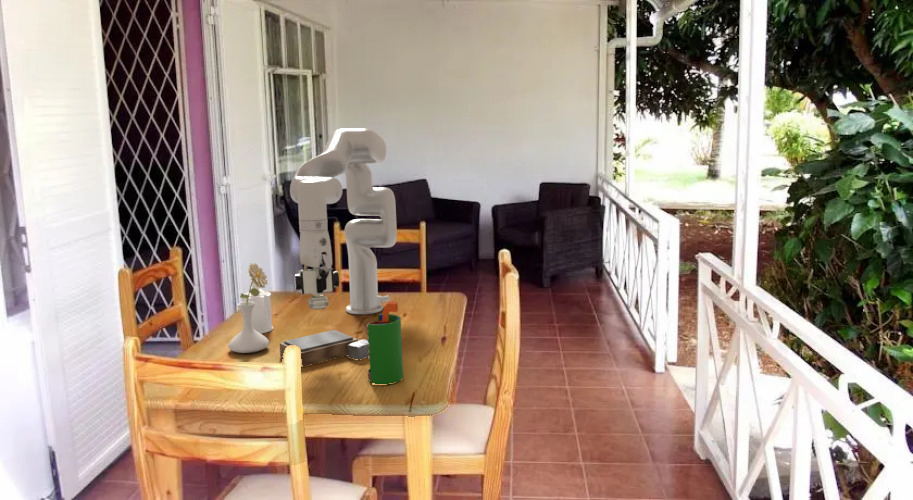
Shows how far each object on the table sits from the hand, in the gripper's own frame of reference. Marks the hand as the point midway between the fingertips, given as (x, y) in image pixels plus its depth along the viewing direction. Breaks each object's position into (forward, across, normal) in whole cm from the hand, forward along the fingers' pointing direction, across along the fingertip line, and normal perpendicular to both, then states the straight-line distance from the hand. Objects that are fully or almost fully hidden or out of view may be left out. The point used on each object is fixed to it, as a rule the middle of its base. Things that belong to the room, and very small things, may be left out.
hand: (316, 289), depth 202 cm
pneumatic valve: (+5, -1, 0) cm, 5 cm away
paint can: (+19, +34, +2) cm, 39 cm away
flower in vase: (+19, +18, +12) cm, 29 cm away
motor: (+19, -28, -3) cm, 34 cm away
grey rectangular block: (+19, -9, -8) cm, 23 cm away
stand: (+19, 0, 0) cm, 19 cm away
